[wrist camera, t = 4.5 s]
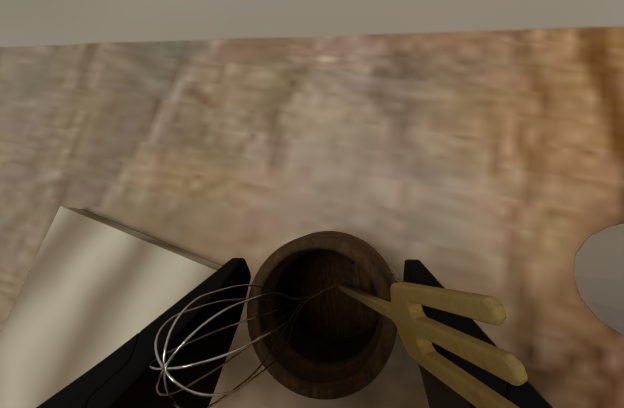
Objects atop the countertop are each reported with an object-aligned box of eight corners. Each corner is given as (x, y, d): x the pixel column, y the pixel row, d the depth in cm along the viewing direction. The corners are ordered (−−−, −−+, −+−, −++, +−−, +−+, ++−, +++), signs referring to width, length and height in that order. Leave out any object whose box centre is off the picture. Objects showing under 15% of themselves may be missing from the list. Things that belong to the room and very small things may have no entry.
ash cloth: (246, 276, 16) (235, 278, 14) (163, 512, 14) (140, 541, 13) (82, 209, 20) (60, 205, 19) (1, 384, 18) (-30, 395, 17)
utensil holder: (283, 247, 16) (66, 224, 4) (381, 227, 15) (441, 126, 3) (299, 346, 14) (32, 717, 3) (407, 332, 13) (686, 818, 2)
